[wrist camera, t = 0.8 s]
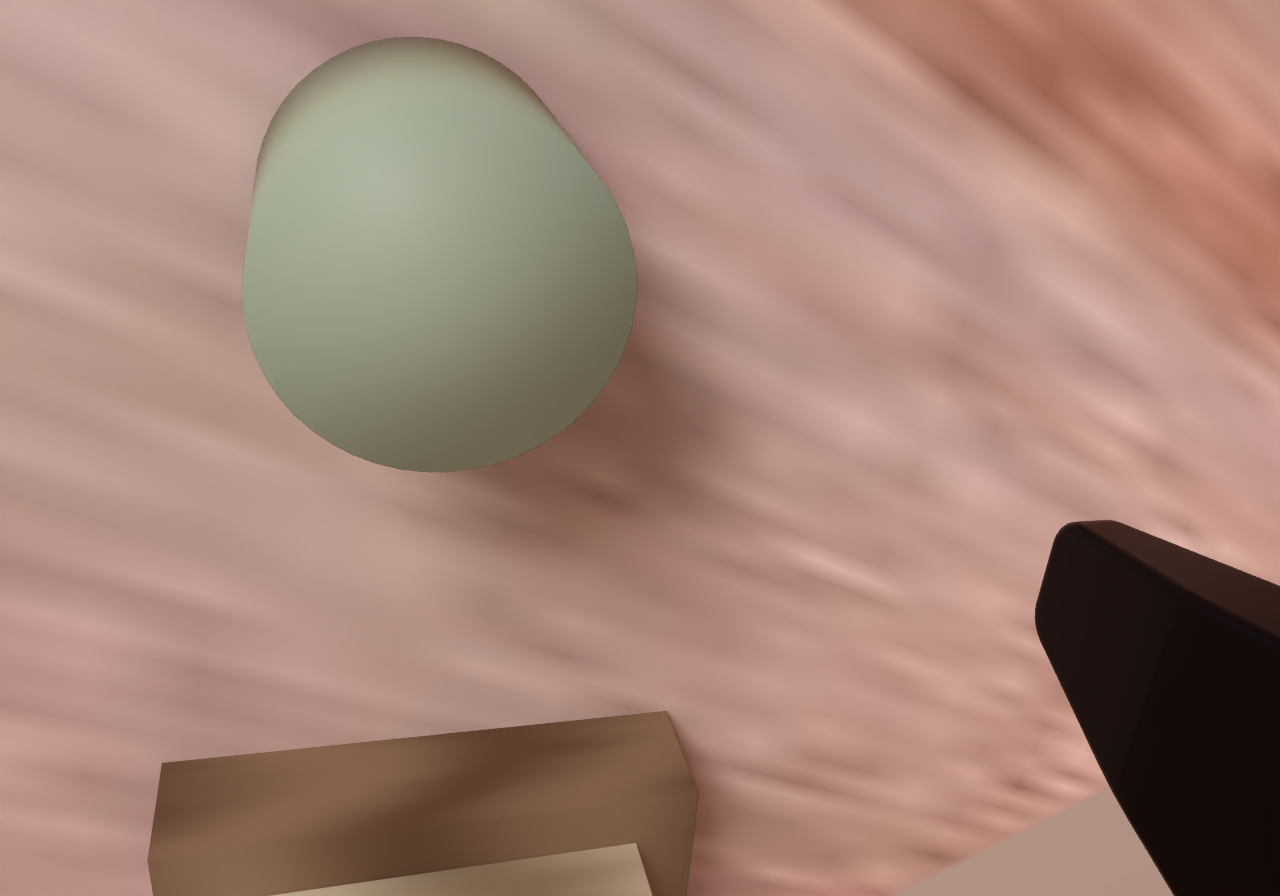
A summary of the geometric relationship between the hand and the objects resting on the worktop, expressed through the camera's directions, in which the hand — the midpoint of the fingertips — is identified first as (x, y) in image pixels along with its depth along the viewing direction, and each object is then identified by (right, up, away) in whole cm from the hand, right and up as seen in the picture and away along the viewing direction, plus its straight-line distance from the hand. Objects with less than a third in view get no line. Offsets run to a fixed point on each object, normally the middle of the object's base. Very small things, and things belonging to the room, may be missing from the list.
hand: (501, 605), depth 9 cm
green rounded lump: (-3, +5, +11) cm, 12 cm away
